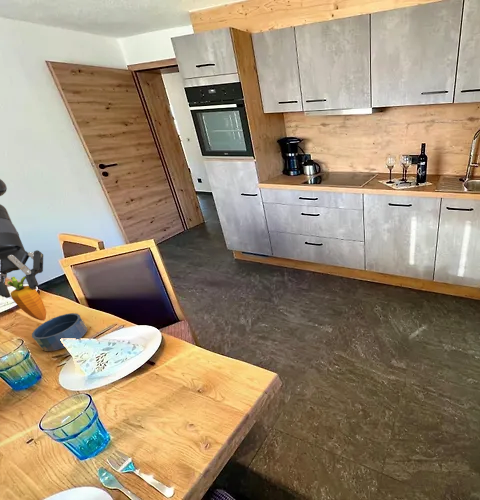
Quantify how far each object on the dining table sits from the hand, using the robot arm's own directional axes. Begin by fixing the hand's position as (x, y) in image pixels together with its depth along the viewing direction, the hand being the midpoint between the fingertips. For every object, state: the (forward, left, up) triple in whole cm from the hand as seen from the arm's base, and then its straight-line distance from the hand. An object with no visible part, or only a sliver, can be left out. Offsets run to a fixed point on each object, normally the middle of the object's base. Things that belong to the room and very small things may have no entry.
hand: (20, 292), depth 77 cm
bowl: (-4, +13, -26) cm, 29 cm away
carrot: (0, +2, -11) cm, 11 cm away
